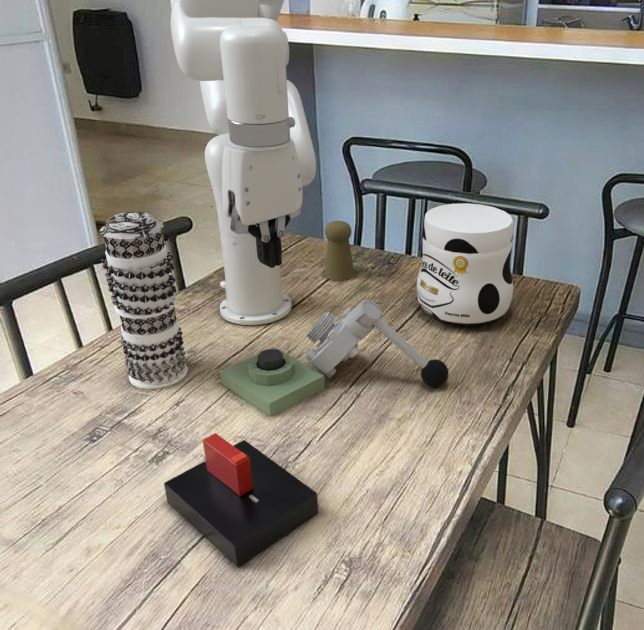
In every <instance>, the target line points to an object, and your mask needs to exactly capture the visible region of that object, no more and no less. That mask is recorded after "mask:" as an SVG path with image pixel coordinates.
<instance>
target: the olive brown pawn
mask: <svg viewBox="0 0 644 630" xmlns="http://www.w3.org/2000/svg"><path fill="white" fill-rule="evenodd" d="M324 236H325V238H326V239H327V245H326V253H325V254H326V255H325V266H324V277H325V278H326V279H328V280H331V281H338V282H339V281H340V282H341V281H347V280H348V281H349V280H350V279H353V278H354V277H355V268H354V263H353V256H352V250H351V243H350V238H351V236H352V227H351V225H350V223H348V222H347V221H343V220H333V221H330V222H328V223H327V224H326V225H325V226H324Z"/></svg>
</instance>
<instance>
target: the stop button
mask: <svg viewBox="0 0 644 630" xmlns="http://www.w3.org/2000/svg"><path fill="white" fill-rule="evenodd" d="M277 349H278V348H277ZM277 349H271V348H267V349H264V350H262V351H260V352H259V353H257V354H258V365H259V368H260V369H261V370H266V371H272V370H277V369H279V368H281V367H283V365H284V362H283V353H282V352H283V351H282V350H281V349H279V350H277ZM280 350H281V351H282V352H281V351H280Z"/></svg>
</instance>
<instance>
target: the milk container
mask: <svg viewBox="0 0 644 630" xmlns="http://www.w3.org/2000/svg"><path fill="white" fill-rule="evenodd" d="M422 228H423V229H422V235H423V236H422V257H421V258H422V260H421V265H420V267H419V271H418V275H417V278H416V286H415V287H416V290H415V291H416V297H417V302H418V304H419V306H420V308H421V309H422V311H423V312H424V313H425V314H427V315H428V316H430V317H432V319H435V320H436V321H439V322H442V323H445V324H448V325H456V326H462V327H463V326H464V327H467V326H480V325H481V326H482V325H484V324H490V323H493V322H495V321H496V320H498V319H500V318H502V317H503V316H504V315H505V314H506V313H507V311H508V310H509V308H510V306H511V302H512V300H513V295H514V282H513V276H512V269H511V260H512V253H513V239H514V222H513V217H512V215H510V214H509V213H508V212H506V211H505V210H502V209H500V208H497V207H494V206H490V205H485V204H477V203H468V202H465V203H464V202H463V203H448V204H443V205H438V206H436V207H433V208H431V209H429V210H428V211H427V212H426V213H425V215H424V220H423V227H422Z"/></svg>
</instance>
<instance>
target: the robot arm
mask: <svg viewBox="0 0 644 630" xmlns="http://www.w3.org/2000/svg"><path fill="white" fill-rule="evenodd" d="M284 2H285V0H170V11H171V15H170V34H171V35H170V36H171V39H172V45H173V51H174V54H175V58H176V61H177V65H178V66H179V69H180V70H181V72H182V73H183V74H184V76H186V77H187V78H189V79H191V80H194V81H198V82H199V86H200V92H201V97H202V103H203V107H204V112H205V116H206V120H207V123H208V125H209V127H210V129H211V131H213V132H214V133H215V134H216V136H214V137H213V138H211V139H210V140H209V141H208V142H207V144H206V146H205V150H204V162H205V166H206V167H205V168H206V171H207V174H208V178H209V181H210V185H211V188H212V189H211V190H212V193H213V197H214V202H215V203H214V204H215V208H216V214H217V223H218V229H219V230H218V231H219V237H220V246H221V254H222V262H223V270H224V278H225V280H222V281H220V283H219V286H220V288H222V289H224V290H225V295H226V297H225V298H224V299H223V301H221V303H220V305H219V313H220V315H221V317H222V318H223V319H224V320H226V321H227V322H229V323H232V324H235V325H241V326H260V325H261V326H262V325H267V324H270V323H274V322H277V321H279V320H282V319H283V318H285V317H287V315H288V314H290V312H291V310H292V305H293V303H292V299H291V298H290V297H289V296H288V295H287V294H286V293H284V292H283V287H282V276H281V266H282V264H283V261H282V255H283V251H282V238H283V237H284V236H285V233H286V232H285V231H286V228H287V226H288V225H289V223H290V222H291V221H293V220H295V219H296V218H297V217H299V216H300V215H301V213H302V210H301V207H302V206H303V199H304V198H303V196H304V195H303V187H306V186H308V185H310V184H312V183H313V181H314V179H315V178H316V173H317V159H316V154H315V148H314V144H313V140H312V137H311V134H310V129H309V125H308V121H307V117H306V112H305V109H304V105H303V102H302V98H301V95H300V92H299V91H298V88H297V87H296V86H295V84H294V83H293V82H292V81H290V80H288V78H287V66H288V64H289V61H290V45H289V38H288V35H287V32H286V31H284V30H283V28H282V26H281V25H280V24H279V22H278V19H279V18H280V13H281V12H282V11H281V10H282V8H283V5H284Z"/></svg>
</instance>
